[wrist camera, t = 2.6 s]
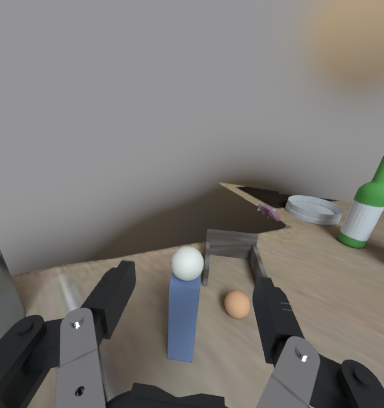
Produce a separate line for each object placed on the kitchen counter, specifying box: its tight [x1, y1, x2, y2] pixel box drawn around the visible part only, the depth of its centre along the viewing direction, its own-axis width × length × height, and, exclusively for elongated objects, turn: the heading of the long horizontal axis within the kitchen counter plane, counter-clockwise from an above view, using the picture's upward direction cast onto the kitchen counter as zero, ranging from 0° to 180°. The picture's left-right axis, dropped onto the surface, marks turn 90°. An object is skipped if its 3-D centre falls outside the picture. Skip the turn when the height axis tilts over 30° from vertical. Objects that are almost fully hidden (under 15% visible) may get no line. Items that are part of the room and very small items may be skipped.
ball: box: [224, 291, 250, 319], centre depth 39 cm, size 5×5×5 cm
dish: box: [285, 195, 343, 225], centre depth 88 cm, size 22×22×5 cm
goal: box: [203, 229, 267, 286], centre depth 49 cm, size 13×14×8 cm
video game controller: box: [256, 204, 280, 221], centre depth 81 cm, size 10×5×7 cm, turn 31°
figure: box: [167, 246, 204, 362], centre depth 29 cm, size 4×4×20 cm
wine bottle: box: [338, 156, 384, 248], centre depth 61 cm, size 8×8×30 cm
